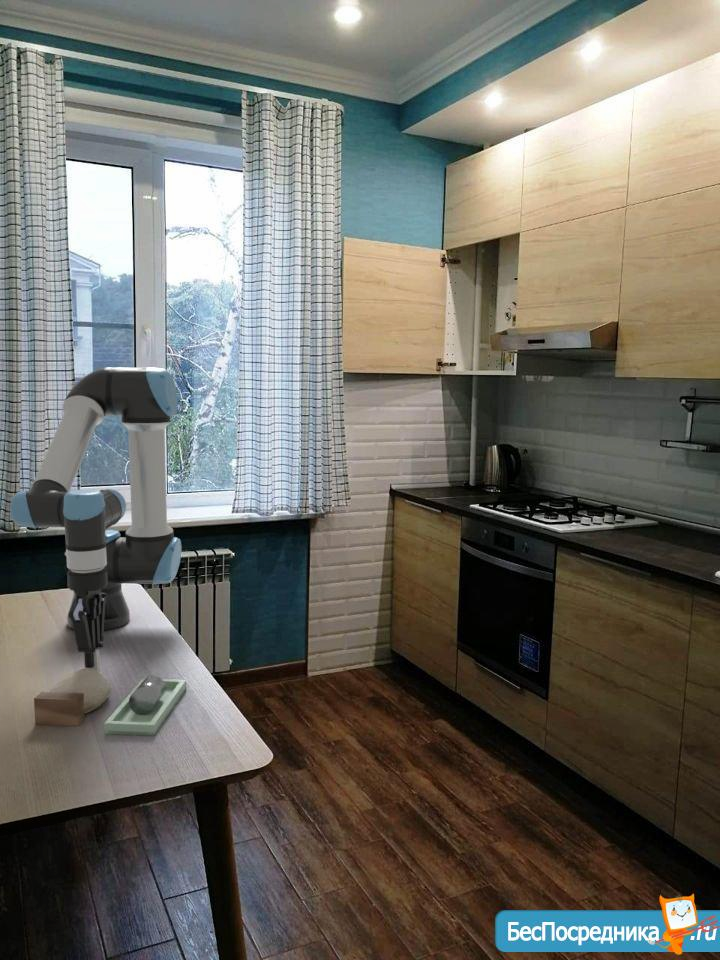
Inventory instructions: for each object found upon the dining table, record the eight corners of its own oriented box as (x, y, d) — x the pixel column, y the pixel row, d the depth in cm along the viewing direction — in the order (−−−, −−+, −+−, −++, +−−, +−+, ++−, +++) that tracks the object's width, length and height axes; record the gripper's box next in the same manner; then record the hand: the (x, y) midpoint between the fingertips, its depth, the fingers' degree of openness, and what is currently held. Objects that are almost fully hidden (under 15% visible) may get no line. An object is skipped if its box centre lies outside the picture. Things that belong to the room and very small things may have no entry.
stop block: (43, 717, 144) (41, 691, 143) (84, 718, 143) (83, 693, 143) (35, 724, 141) (33, 698, 140) (77, 726, 140) (76, 700, 140)
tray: (142, 687, 157) (142, 678, 157) (186, 689, 157) (186, 680, 157) (104, 733, 138) (104, 723, 137) (154, 735, 137) (153, 725, 137)
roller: (165, 700, 151) (166, 676, 150) (153, 716, 144) (154, 691, 143) (141, 698, 151) (142, 674, 150) (128, 713, 144) (129, 689, 143)
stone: (73, 740, 145) (92, 711, 142) (31, 709, 145) (49, 679, 142) (108, 705, 157) (126, 677, 154) (69, 676, 157) (86, 648, 155)
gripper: (82, 559, 159) (87, 667, 163) (54, 576, 147) (60, 693, 151) (117, 559, 159) (122, 668, 163) (92, 577, 146) (98, 694, 150)
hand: (92, 680), depth 157 cm, fingers closed
